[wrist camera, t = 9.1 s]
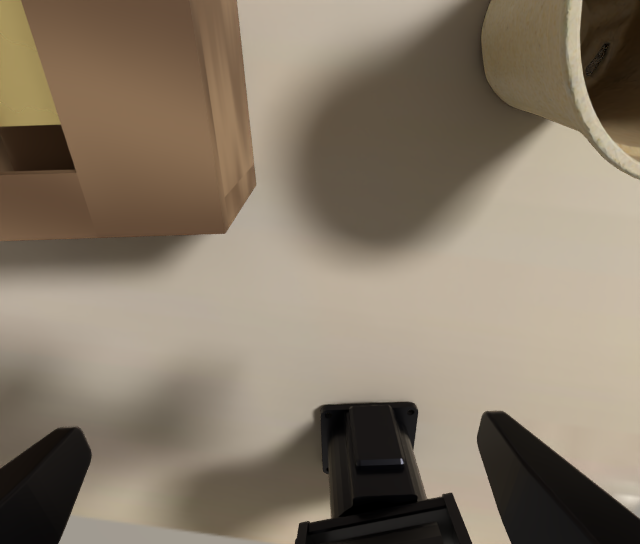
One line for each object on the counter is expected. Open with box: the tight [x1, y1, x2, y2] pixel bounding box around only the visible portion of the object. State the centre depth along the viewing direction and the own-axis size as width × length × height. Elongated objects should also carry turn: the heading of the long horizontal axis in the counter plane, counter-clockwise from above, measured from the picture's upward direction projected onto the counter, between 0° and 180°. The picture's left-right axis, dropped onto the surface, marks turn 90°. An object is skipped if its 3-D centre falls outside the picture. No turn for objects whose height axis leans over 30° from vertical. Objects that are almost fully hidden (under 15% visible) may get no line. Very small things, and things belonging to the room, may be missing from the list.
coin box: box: [0, 0, 256, 241], centre depth 12 cm, size 12×12×7 cm
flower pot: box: [481, 0, 640, 180], centre depth 11 cm, size 9×9×9 cm
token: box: [0, 0, 61, 127], centre depth 12 cm, size 6×2×5 cm, turn 2°
